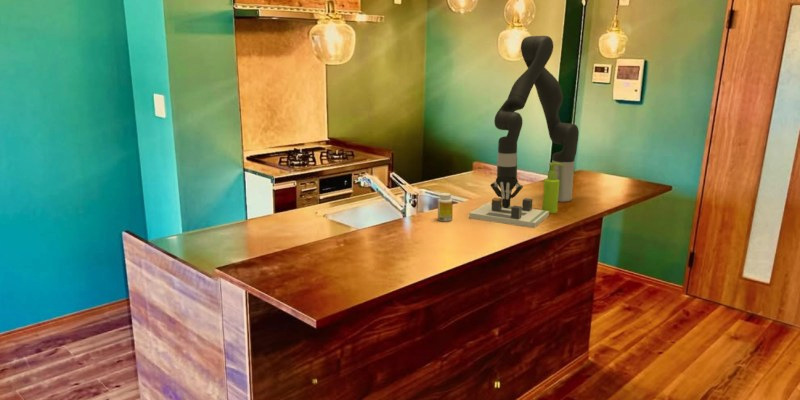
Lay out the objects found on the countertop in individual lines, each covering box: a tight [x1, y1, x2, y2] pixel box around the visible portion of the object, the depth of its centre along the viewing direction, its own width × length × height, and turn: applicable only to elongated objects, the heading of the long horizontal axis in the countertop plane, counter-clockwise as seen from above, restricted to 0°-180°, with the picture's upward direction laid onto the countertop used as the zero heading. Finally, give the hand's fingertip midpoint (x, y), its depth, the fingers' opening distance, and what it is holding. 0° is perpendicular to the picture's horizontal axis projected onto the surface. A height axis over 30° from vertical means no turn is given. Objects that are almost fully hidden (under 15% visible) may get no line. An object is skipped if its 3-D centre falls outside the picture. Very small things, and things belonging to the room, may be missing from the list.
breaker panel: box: [468, 202, 550, 229], centre depth 219 cm, size 18×26×2 cm
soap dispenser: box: [541, 162, 563, 214], centre depth 224 cm, size 6×7×20 cm
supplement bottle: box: [437, 192, 454, 223], centre depth 214 cm, size 6×6×10 cm
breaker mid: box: [491, 197, 502, 211], centre depth 220 cm, size 3×3×4 cm
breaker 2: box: [522, 198, 533, 211], centre depth 221 cm, size 3×3×4 cm
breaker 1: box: [511, 205, 522, 219], centre depth 210 cm, size 3×3×4 cm
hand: (506, 207), depth 219 cm, fingers closed
